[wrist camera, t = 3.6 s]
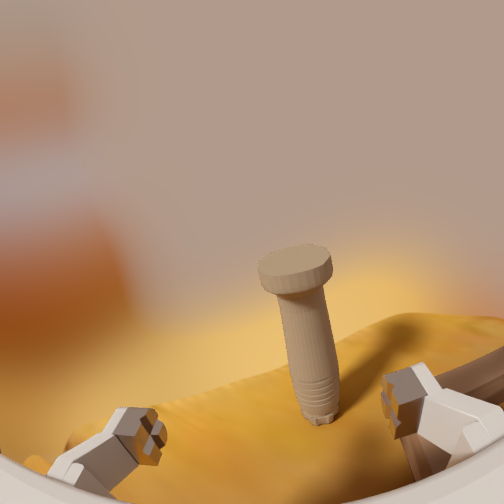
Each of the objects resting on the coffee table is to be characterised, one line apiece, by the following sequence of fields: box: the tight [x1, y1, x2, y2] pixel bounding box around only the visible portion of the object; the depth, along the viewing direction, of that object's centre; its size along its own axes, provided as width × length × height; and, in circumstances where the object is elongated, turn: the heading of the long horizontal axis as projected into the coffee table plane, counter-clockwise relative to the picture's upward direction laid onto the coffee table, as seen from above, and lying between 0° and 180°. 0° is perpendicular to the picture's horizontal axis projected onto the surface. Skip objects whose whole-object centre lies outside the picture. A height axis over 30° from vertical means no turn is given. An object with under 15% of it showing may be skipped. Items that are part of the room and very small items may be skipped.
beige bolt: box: [258, 244, 340, 426], centre depth 21 cm, size 5×6×15 cm
